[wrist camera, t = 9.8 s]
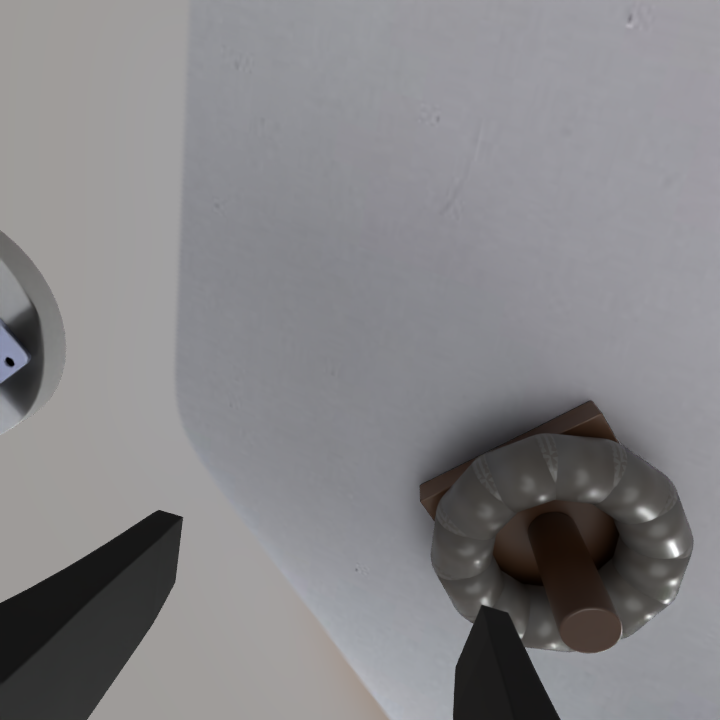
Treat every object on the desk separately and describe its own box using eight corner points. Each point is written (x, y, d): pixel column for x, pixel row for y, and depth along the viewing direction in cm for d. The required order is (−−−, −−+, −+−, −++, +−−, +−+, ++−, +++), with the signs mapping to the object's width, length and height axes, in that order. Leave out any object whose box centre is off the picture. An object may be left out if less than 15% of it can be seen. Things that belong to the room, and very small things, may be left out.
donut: (421, 602, 24) (422, 648, 21) (444, 413, 20) (449, 444, 18) (639, 627, 23) (664, 677, 21) (701, 436, 20) (738, 470, 17)
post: (506, 609, 25) (535, 744, 19) (419, 484, 23) (421, 592, 17) (672, 542, 23) (762, 671, 17) (591, 399, 21) (661, 489, 15)
